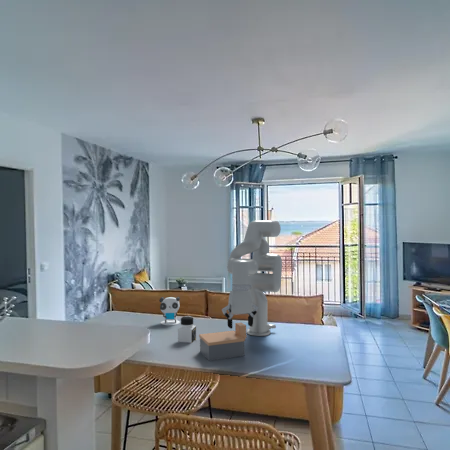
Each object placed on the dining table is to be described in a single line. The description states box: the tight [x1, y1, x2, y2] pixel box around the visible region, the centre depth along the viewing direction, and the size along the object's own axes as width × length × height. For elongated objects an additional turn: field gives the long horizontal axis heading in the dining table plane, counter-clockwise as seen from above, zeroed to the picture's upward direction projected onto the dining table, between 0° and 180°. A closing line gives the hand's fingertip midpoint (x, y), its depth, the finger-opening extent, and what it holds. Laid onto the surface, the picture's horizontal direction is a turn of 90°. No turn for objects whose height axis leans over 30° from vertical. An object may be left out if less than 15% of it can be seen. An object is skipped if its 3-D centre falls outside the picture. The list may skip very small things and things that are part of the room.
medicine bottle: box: [177, 315, 197, 344], centre depth 171 cm, size 7×7×12 cm
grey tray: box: [199, 337, 245, 362], centre depth 152 cm, size 16×12×7 cm
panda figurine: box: [158, 296, 181, 326], centre depth 206 cm, size 12×11×15 cm
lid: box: [198, 321, 248, 346], centre depth 153 cm, size 19×13×7 cm, turn 111°
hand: (240, 326), depth 155 cm, fingers open, 9 cm apart
